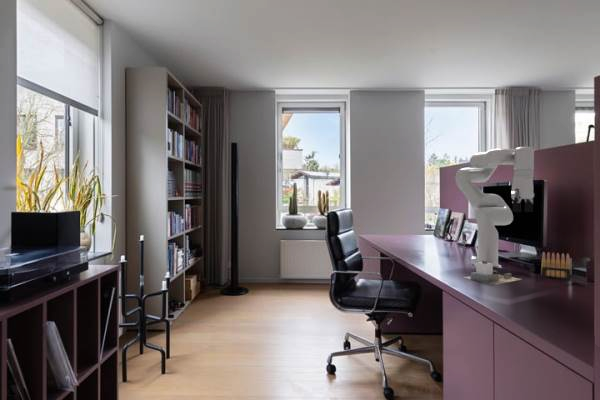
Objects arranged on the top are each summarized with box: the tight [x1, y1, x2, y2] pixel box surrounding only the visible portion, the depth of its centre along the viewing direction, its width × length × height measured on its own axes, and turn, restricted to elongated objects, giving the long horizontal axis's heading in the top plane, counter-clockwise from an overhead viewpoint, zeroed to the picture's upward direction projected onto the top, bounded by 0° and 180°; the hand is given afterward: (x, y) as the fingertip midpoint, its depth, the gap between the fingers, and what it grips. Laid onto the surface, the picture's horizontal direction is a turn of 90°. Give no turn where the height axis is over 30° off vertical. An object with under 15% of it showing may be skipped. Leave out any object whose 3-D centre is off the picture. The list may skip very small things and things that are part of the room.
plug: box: [475, 260, 494, 276], centre depth 140 cm, size 4×4×8 cm
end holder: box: [469, 271, 500, 284], centre depth 140 cm, size 8×8×2 cm
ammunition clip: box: [540, 251, 572, 281], centre depth 150 cm, size 11×2×12 cm, turn 62°
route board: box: [463, 269, 523, 286], centre depth 143 cm, size 14×20×4 cm
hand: (522, 211), depth 151 cm, fingers open, 9 cm apart
